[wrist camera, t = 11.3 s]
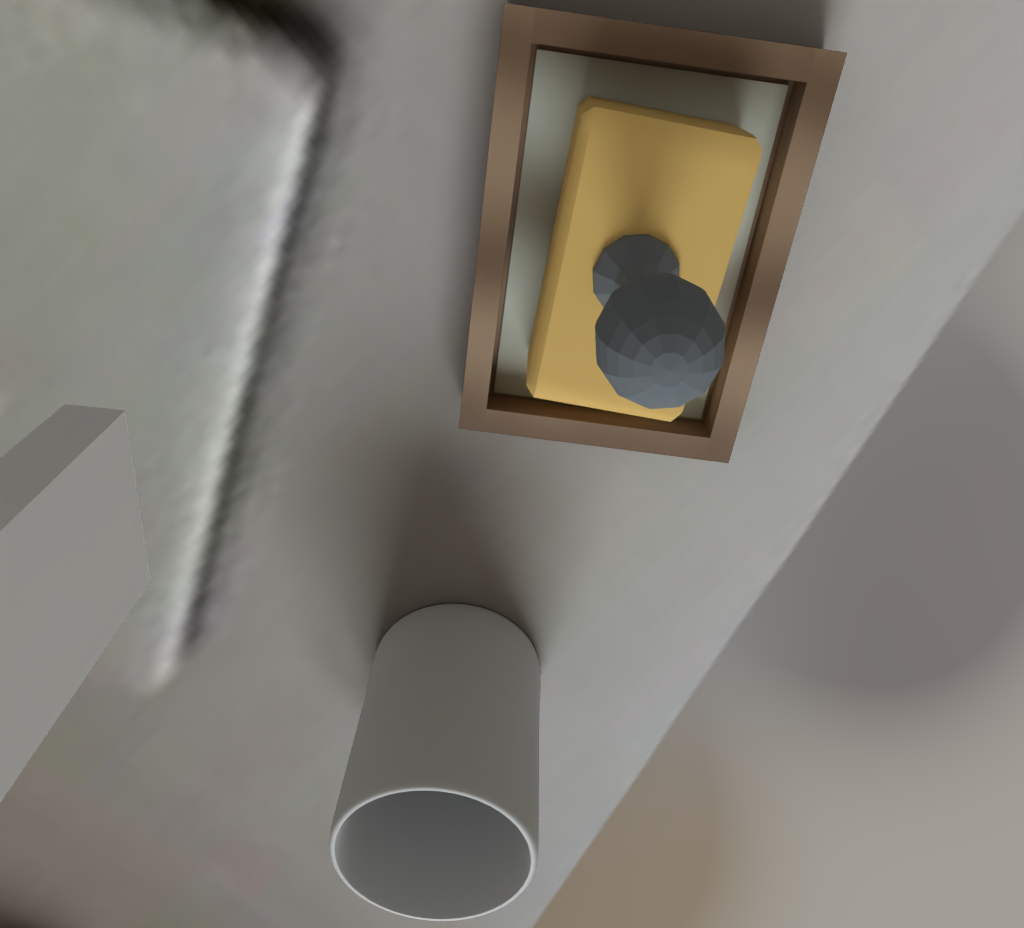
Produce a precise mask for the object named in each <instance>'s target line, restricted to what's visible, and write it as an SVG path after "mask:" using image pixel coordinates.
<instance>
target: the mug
mask: <svg viewBox="0 0 1024 928" xmlns="http://www.w3.org/2000/svg"><path fill="white" fill-rule="evenodd" d="M540 687H541V677H540V665H539V661H538V657H537V654H536V651H535V649H534V647H533V645H532V643H531V642H530V640H529V639H528V637H527V636H526V635H525V634H524V633H523V631H522V630H520V629H519V628H518V627H517V626H516V625H515V624H514V623H512V622H511V621H509V620H508V619H506V618H505V617H503V616H501V615H499V614H497V613H495V612H493V611H490V610H488V609H485V608H481V607H478V606H473V605H467V604H440V605H433V606H429V607H425V608H422V609H419V610H417V611H414V612H412V613H410V614H408V615H406V616H405V617H403V618H402V619H400V620H399V621H397V622H396V623H395V624H394V625H393V626H392V627H391V628H390V629H389V630H388V631H387V633H386V634H385V635H384V637H383V638H382V640H381V642H380V644H379V646H378V649H377V651H376V654H375V657H374V661H373V665H372V669H371V673H370V678H369V683H368V687H367V691H366V695H365V699H364V703H363V707H362V711H361V715H360V718H359V722H358V726H357V730H356V734H355V738H354V741H353V745H352V749H351V753H350V757H349V760H348V764H347V768H346V772H345V776H344V779H343V783H342V787H341V791H340V795H339V798H338V802H337V806H336V810H335V814H334V817H333V821H332V826H331V831H330V839H329V848H330V856H331V859H332V863H333V865H334V867H335V869H336V871H337V873H338V874H339V876H340V877H341V879H342V880H343V881H344V882H345V883H346V885H347V886H348V887H349V888H350V889H351V890H353V891H354V892H355V893H356V894H357V895H359V896H360V897H362V898H363V899H365V900H366V901H368V902H369V903H371V904H373V905H375V906H377V907H379V908H381V909H384V910H386V911H389V912H392V913H395V914H398V915H401V916H405V917H410V918H415V919H422V920H432V921H453V920H463V919H469V918H474V917H478V916H481V915H485V914H488V913H490V912H493V911H495V910H498V909H499V908H501V907H503V906H505V905H507V904H508V903H510V902H511V901H513V900H514V899H515V898H516V897H517V896H519V895H520V894H521V893H522V892H523V891H524V889H525V888H526V887H527V886H528V884H529V883H530V881H531V879H532V877H533V875H534V872H535V869H536V866H537V859H538V846H539V711H540Z"/></svg>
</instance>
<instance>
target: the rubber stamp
mask: <svg viewBox="0 0 1024 928" xmlns="http://www.w3.org/2000/svg"><path fill="white" fill-rule="evenodd" d="M762 151H763V150H762V148H761V146H760V144H759V142H758V140H757V138H756V137H755V136H754V135H753V134H751V133H749V132H747V131H745V130H743V129H742V128H740V127H738V126H736V125H734V124H729V123H724V122H719V121H714V120H709V119H704V118H699V117H694V116H689V115H684V114H679V113H674V112H669V111H664V110H659V109H654V108H649V107H644V106H639V105H634V104H629V103H624V102H619V101H614V100H609V99H604V98H599V97H594V96H588V97H587V98H586V99H585V100H583V101H582V102H581V103H580V104H579V105H578V108H577V113H576V118H575V123H574V128H573V133H572V138H571V143H570V148H569V152H568V157H567V162H566V167H565V172H564V177H563V182H562V187H561V192H560V197H559V202H558V207H557V212H556V217H555V222H554V227H553V232H552V237H551V242H550V247H549V252H548V257H547V262H546V267H545V272H544V277H543V282H542V287H541V292H540V297H539V302H538V307H537V312H536V317H535V322H534V327H533V332H532V337H531V342H530V347H529V352H528V358H527V380H526V386H527V387H528V389H529V391H530V392H531V394H532V396H533V397H534V398H540V399H546V400H551V401H557V402H562V403H568V404H574V405H579V406H585V407H590V408H596V409H601V410H607V411H613V412H618V413H624V414H629V415H635V416H641V417H646V418H652V419H657V420H663V421H669V422H671V421H673V420H674V419H675V418H676V417H677V416H679V415H680V414H681V413H682V411H683V409H684V406H685V404H686V403H687V402H689V401H691V400H693V399H694V398H696V397H698V396H700V395H701V394H703V393H705V392H706V390H707V389H708V387H709V386H710V384H711V382H712V381H713V379H714V378H715V376H716V375H717V373H718V372H719V370H720V368H721V367H722V365H723V363H724V354H725V323H724V321H723V320H722V318H721V316H720V315H719V313H718V311H717V310H716V308H715V305H716V302H717V299H718V295H719V292H720V289H721V286H722V282H723V279H724V276H725V273H726V269H727V266H728V263H729V260H730V256H731V253H732V250H733V247H734V243H735V240H736V237H737V234H738V230H739V227H740V224H741V221H742V218H743V214H744V211H745V208H746V205H747V201H748V198H749V195H750V192H751V188H752V185H753V182H754V179H755V175H756V172H757V169H758V166H759V162H760V159H761V155H762Z"/></svg>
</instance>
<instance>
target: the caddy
mask: <svg viewBox="0 0 1024 928" xmlns="http://www.w3.org/2000/svg"><path fill="white" fill-rule="evenodd" d="M846 55H847V53H846V52H839V51H832V50H825V49H819V48H812V47H805V46H798V45H791V44H784V43H777V42H770V41H764V40H757V39H750V38H743V37H736V36H729V35H722V34H715V33H708V32H702V31H695V30H688V29H681V28H674V27H667V26H660V25H653V24H646V23H640V22H633V21H626V20H619V19H612V18H605V17H598V16H591V15H585V14H578V13H571V12H564V11H557V10H550V9H543V8H536V7H529V6H523V5H516V4H509V3H504V11H503V20H502V29H501V39H500V48H499V57H498V67H497V76H496V85H495V95H494V104H493V114H492V123H491V132H490V142H489V151H488V160H487V170H486V179H485V188H484V198H483V207H482V217H481V226H480V235H479V245H478V254H477V263H476V273H475V282H474V291H473V301H472V310H471V319H470V329H469V338H468V348H467V357H466V366H465V376H464V385H463V394H462V404H461V413H460V422H459V428H460V429H468V430H475V431H483V432H491V433H499V434H507V435H514V436H522V437H530V438H538V439H545V440H553V441H561V442H569V443H576V444H584V445H592V446H600V447H607V448H615V449H623V450H631V451H638V452H646V453H654V454H662V455H669V456H677V457H685V458H693V459H700V460H708V461H716V462H724V463H729V460H730V456H731V453H732V449H733V446H734V442H735V439H736V435H737V432H738V428H739V425H740V422H741V418H742V415H743V411H744V408H745V404H746V401H747V397H748V394H749V390H750V387H751V383H752V380H753V377H754V373H755V370H756V366H757V363H758V359H759V356H760V352H761V349H762V345H763V342H764V338H765V335H766V332H767V328H768V325H769V321H770V318H771V314H772V311H773V307H774V304H775V300H776V297H777V294H778V290H779V287H780V283H781V280H782V276H783V273H784V269H785V266H786V262H787V259H788V255H789V252H790V249H791V245H792V242H793V238H794V235H795V231H796V228H797V224H798V221H799V217H800V214H801V210H802V207H803V204H804V200H805V197H806V193H807V190H808V186H809V183H810V179H811V176H812V172H813V169H814V166H815V162H816V159H817V155H818V152H819V148H820V145H821V141H822V138H823V134H824V131H825V127H826V124H827V121H828V117H829V114H830V110H831V107H832V103H833V100H834V96H835V93H836V89H837V86H838V82H839V79H840V76H841V72H842V69H843V65H844V62H845V58H846ZM588 96H594V97H599V98H604V99H609V100H614V101H619V102H624V103H629V104H634V105H639V106H644V107H649V108H654V109H659V110H664V111H669V112H674V113H679V114H684V115H689V116H694V117H699V118H704V119H709V120H714V121H719V122H724V123H729V124H734V125H736V126H738V127H740V128H742V129H743V130H745V131H747V132H749V133H751V134H753V135H754V136H755V137H756V138H757V140H758V142H759V144H760V146H761V148H762V150H763V151H762V155H761V159H760V162H759V166H758V169H757V172H756V175H755V179H754V182H753V185H752V188H751V192H750V195H749V198H748V201H747V205H746V208H745V211H744V214H743V218H742V221H741V224H740V227H739V230H738V234H737V237H736V240H735V243H734V247H733V250H732V253H731V256H730V260H729V263H728V266H727V269H726V273H725V276H724V279H723V282H722V286H721V289H720V292H719V295H718V299H717V302H716V305H715V308H716V310H717V311H718V313H719V315H720V316H721V318H722V320H723V321H724V323H725V354H724V363H723V365H722V367H721V368H720V370H719V372H718V373H717V375H716V376H715V378H714V379H713V381H712V382H711V384H710V386H709V387H708V389H707V390H706V392H705V393H703V394H701V395H700V396H698V397H696V398H694V399H693V400H691V401H689V402H687V403H686V404H685V406H684V409H683V411H682V413H681V414H680V415H679V416H677V417H676V418H675V419H674V420H673V421H671V422H669V421H663V420H657V419H652V418H646V417H641V416H635V415H629V414H624V413H618V412H613V411H607V410H601V409H596V408H590V407H585V406H579V405H574V404H568V403H562V402H557V401H551V400H546V399H540V398H534V397H533V396H532V394H531V392H530V391H529V389H528V387H527V386H526V380H527V358H528V352H529V347H530V342H531V337H532V332H533V327H534V322H535V317H536V312H537V307H538V302H539V297H540V292H541V287H542V282H543V277H544V272H545V267H546V262H547V257H548V252H549V247H550V242H551V237H552V232H553V227H554V222H555V217H556V212H557V207H558V202H559V197H560V192H561V187H562V182H563V177H564V172H565V167H566V162H567V157H568V152H569V148H570V143H571V138H572V133H573V128H574V123H575V118H576V113H577V108H578V105H579V104H580V103H581V102H582V101H583V100H585V99H586V98H587V97H588Z"/></svg>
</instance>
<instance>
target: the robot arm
mask: <svg viewBox="0 0 1024 928" xmlns="http://www.w3.org/2000/svg"><path fill="white" fill-rule="evenodd" d="M150 583H151V580H150V573H149V566H148V560H147V553H146V546H145V540H144V533H143V526H142V519H141V513H140V506H139V499H138V492H137V486H136V479H135V472H134V465H133V459H132V452H131V445H130V438H129V432H128V425H127V418H126V412H125V410H116V409H106V408H97V407H87V406H77V405H67V404H65V405H64V406H63V407H61V408H60V409H59V410H58V411H57V412H55V413H54V414H53V415H52V416H51V417H49V418H48V419H47V420H46V421H44V422H43V423H42V424H41V425H40V426H38V427H37V428H36V429H35V430H34V431H32V432H31V433H30V434H29V435H28V436H26V437H25V438H24V439H23V440H22V441H20V442H19V443H18V444H17V445H16V446H14V447H13V448H12V449H11V450H10V451H8V452H7V453H6V454H5V455H4V456H2V457H1V458H0V802H1V801H2V799H3V798H4V796H5V795H6V794H7V792H8V791H9V789H10V788H11V786H12V785H13V783H14V782H15V780H16V779H17V777H18V776H19V774H20V773H21V772H22V770H23V769H24V767H25V766H26V764H27V763H28V761H29V760H30V758H31V757H32V755H33V754H34V753H35V751H36V750H37V748H38V747H39V745H40V744H41V742H42V741H43V739H44V738H45V736H46V735H47V733H48V732H49V731H50V729H51V728H52V726H53V725H54V723H55V722H56V720H57V719H58V717H59V716H60V714H61V713H62V712H63V710H64V709H65V707H66V706H67V704H68V703H69V701H70V700H71V698H72V697H73V695H74V694H75V692H76V691H77V690H78V688H79V687H80V685H81V684H82V682H83V681H84V679H85V678H86V676H87V675H88V673H89V672H90V671H91V669H92V668H93V666H94V665H95V663H96V662H97V660H98V659H99V657H100V656H101V654H102V653H103V651H104V650H105V649H106V647H107V646H108V644H109V643H110V641H111V640H112V638H113V637H114V635H115V634H116V632H117V631H118V630H119V628H120V627H121V625H122V624H123V622H124V621H125V619H126V618H127V616H128V615H129V613H130V612H131V610H132V609H133V608H134V606H135V605H136V603H137V602H138V600H139V599H140V597H141V596H142V594H143V593H144V591H145V590H146V589H147V587H148V586H149V584H150Z"/></svg>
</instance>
